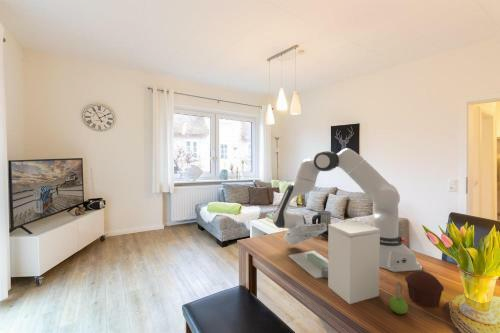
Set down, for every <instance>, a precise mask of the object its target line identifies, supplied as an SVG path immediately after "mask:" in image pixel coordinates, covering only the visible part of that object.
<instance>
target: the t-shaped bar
mask: <svg viewBox="0 0 500 333" xmlns="http://www.w3.org/2000/svg"><path fill="white" fill-rule="evenodd" d="M307 260H308V261H310V262H311V263H312V264H314V265H315V266H316V267H318V268H319V269H321V270H322V275H323V276H324V277H323V278H325V279H328V263H326V262H325V261H323V260H322V259H320V258H319V257H317V256H316V255H314V254H313V253H310V254H307Z"/></svg>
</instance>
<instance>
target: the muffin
mask: <svg viewBox="0 0 500 333" xmlns="http://www.w3.org/2000/svg"><path fill="white" fill-rule="evenodd" d="M405 281H406V284H407V286H406V287H407V292H408V298H409V300H411V301H412V302H413V303H414V304H417V305H420V306H421V307H423V308H431V309H434V308H438V307H439V306H440V301H441V298H442V293H443V291H444V286H443V284H442V283H441V282H440V280H438V279H437V277H435V275H433V274H431V273H429V272H427V271H423V270H414V271H411V272H410V273H409V274H407V275H406V277H405Z"/></svg>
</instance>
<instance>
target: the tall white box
mask: <svg viewBox="0 0 500 333" xmlns="http://www.w3.org/2000/svg"><path fill="white" fill-rule="evenodd" d="M327 237H328V239H327V241H328V247H327V248H328V250H327V252H328V253H327V256H328V258H327V259H328V278H327V287H328V289H330V290H331V291H333V292H334V293H335V294H337V295H338V296H339V297H341V299H343V300H344V301H346V302H347V303H348V304H349V305H352V304H355V303H359V302H362V301H365V300H366V301H367V300H368V299H373V298H376V297H379V296H380V267H379V259H380V229H379V228H376V227H373V225H370V224H367V223H364V222H361V221H358V220H349V221H344V222H343V221H342V222H335V223H331V224H328V236H327Z"/></svg>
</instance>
